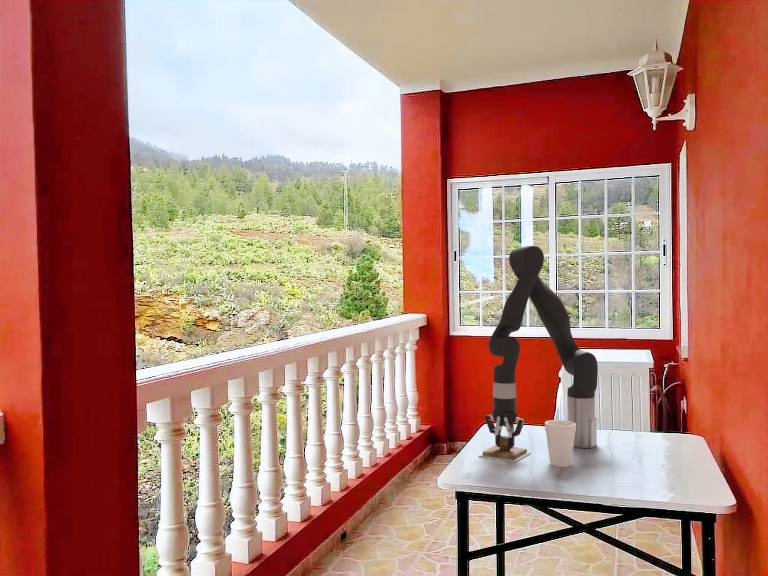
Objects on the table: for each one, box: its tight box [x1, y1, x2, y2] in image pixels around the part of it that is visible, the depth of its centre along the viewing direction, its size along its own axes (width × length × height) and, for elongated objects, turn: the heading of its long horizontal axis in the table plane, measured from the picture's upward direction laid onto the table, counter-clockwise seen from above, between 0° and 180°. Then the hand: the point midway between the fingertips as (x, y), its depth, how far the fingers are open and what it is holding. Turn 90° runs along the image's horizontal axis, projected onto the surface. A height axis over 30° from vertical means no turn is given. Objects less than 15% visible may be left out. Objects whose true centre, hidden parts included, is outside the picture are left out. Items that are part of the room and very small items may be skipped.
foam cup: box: [544, 419, 576, 468], centre depth 210 cm, size 10×9×13 cm
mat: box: [478, 451, 531, 464], centre depth 221 cm, size 13×13×1 cm
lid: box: [482, 435, 528, 460], centre depth 221 cm, size 11×11×6 cm
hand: (504, 447), depth 221 cm, fingers closed on lid, 3 cm apart
